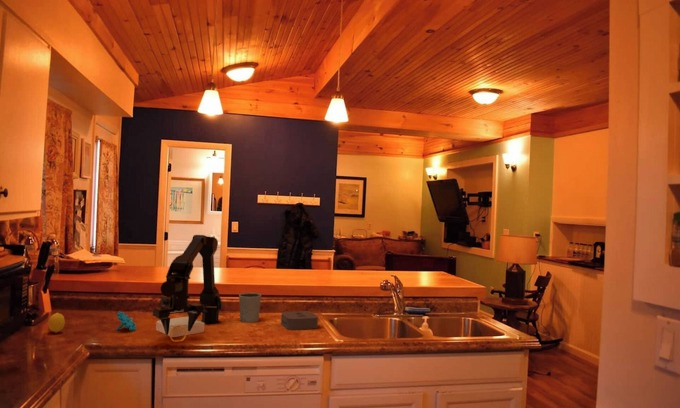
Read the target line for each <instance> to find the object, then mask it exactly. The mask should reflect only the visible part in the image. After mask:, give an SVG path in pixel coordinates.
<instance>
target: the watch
mask: <svg viewBox="0 0 680 408" xmlns="http://www.w3.org/2000/svg"><path fill="white" fill-rule="evenodd" d="M180 328H182V329H184V328H183V327H182V326H181V325H176V326H175V327H174V328H173V329H172V330H171V331H170V336H169V338H170V340H171V341H172V342H173V343H176V342H183V341H184V340H185V339H186V338H187V335H186V330H185V329H184V331H185V335H183V338H181V339H173V337H171V333H172V331H173V330H174V329H180Z"/></svg>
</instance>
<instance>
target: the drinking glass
mask: <svg viewBox="0 0 680 408" xmlns="http://www.w3.org/2000/svg"><path fill="white" fill-rule="evenodd" d="M261 299H262V294H261V293H257V292H244V293H240V294H238V301H239V320H240V322H242V323H246V324H247V323H249V324H251V323H257V322H259V320H260V310H261V309H260V308H261V301H262V300H261Z"/></svg>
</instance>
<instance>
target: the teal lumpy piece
mask: <svg viewBox="0 0 680 408" xmlns="http://www.w3.org/2000/svg"><path fill="white" fill-rule="evenodd" d="M116 316H117V320H119V321H120V325H118V327H117V328H116V331H120V330H121V328H123V329H124V328H126V329H128V330H129V331H134V332H135V331H136V329H137V326H136V323H135V322H134V321H133V317H129V315H128V314H125V312H123V311H118V312H117V314H116Z"/></svg>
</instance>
